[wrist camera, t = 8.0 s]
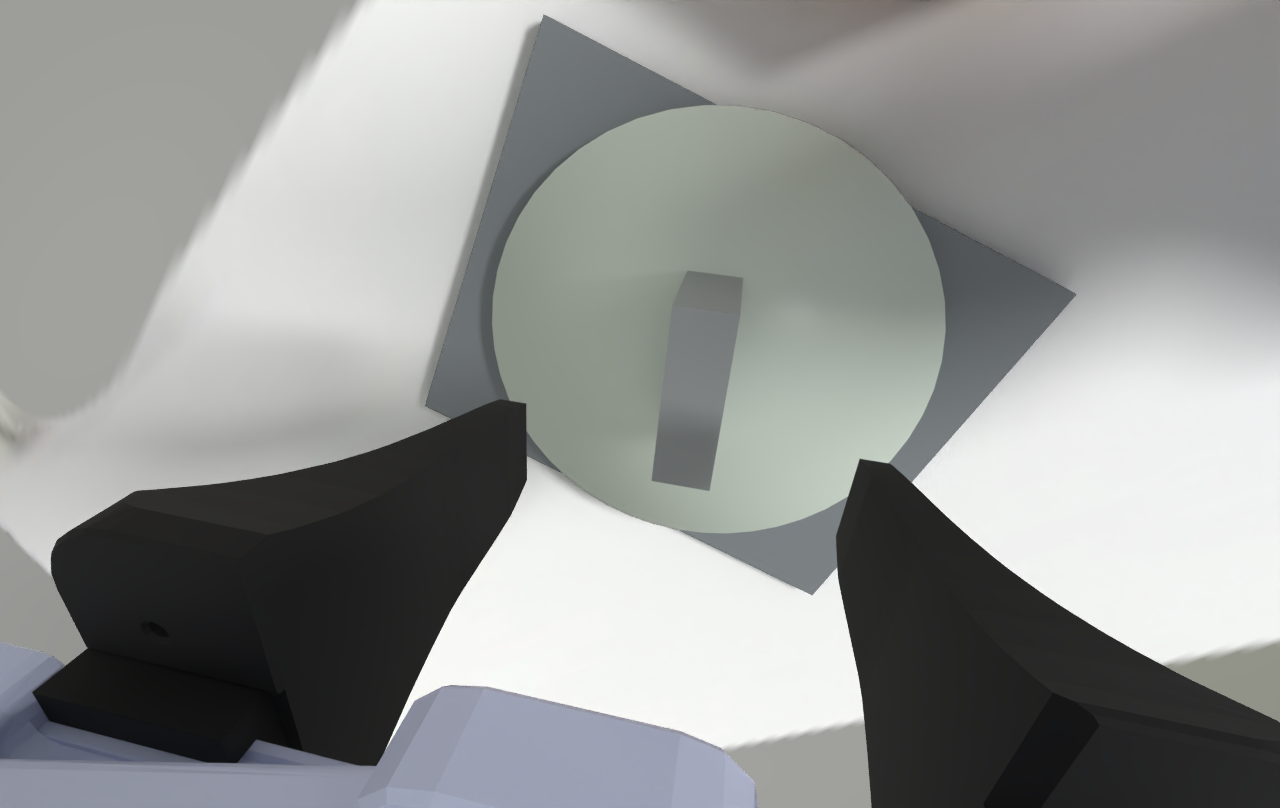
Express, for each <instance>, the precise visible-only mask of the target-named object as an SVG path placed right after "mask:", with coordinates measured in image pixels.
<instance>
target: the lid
mask: <svg viewBox="0 0 1280 808" xmlns="http://www.w3.org/2000/svg"><path fill="white" fill-rule="evenodd" d="M492 329H493V339H494V350H495V354H496V358H497V363H498V367H499V372H500V376H501V378H502V381H503V384H504V387H505V389H506V392H507V395H508V398H509V400H510V401H514V402H520V403H526V431H527V432H528V434H529V435H530V437H531V438H532V440H533V441H534V442H535V444H536V445H537V446H538V447H539V448H540V450H541V451H542V452H543V453H544V454H545V456H546V457H547V458H548V459H549V460H550V461H551V462H552V463H553V464H554V465H555V466H556V467H557V468H558V469H559V470H560V471H561V472H562V473H563V474H564V475H565V476H566V477H567V478H569V479H570V480H571V481H573V482H574V483H575V484H577V485H578V486H579V487H580V488H582V489H583V490H584V491H586V492H587V493H589V494H590V495H592V496H594V497H595V498H597V499H599V500H600V501H602V502H603V503H605V504H607V505H609V506H611V507H613V508H615V509H617V510H619V511H621V512H623V513H625V514H628V515H630V516H633V517H635V518H638V519H641V520H644V521H647V522H650V523H652V524H656V525H660V526H665V527H669V528H673V529H677V530H685V531H692V532H700V533H739V532H752V531H757V530H763V529H768V528H773V527H778V526H781V525H785V524H788V523H791V522H795V521H798V520H801V519H804V518H806V517H809V516H811V515H813V514H816V513H818V512H820V511H823V510H825V509H827V508H829V507H830V506H832V505H834V504H836V503H837V502H839V501H841V500H843V499H844V498H846V497H848V495H849V492H850V489H851V485H852V482H853V479H854V476H855V472H856V469H857V466H858V463H859V459H865V460H871V461H877V462H883V463H889V462H890V461H891V460H892V458H893V457H894V456H895V455H896V454H897V452H898V451H899V450H900V449H901V447H902V446H903V445H904V444H905V442H906V441H907V440H908V438H909V437H910V435H911V434H912V432H913V430H914V429H915V427H916V425H917V424H918V422H919V421H920V419H921V417H922V416H923V413H924V411H925V409H926V407H927V404H928V402H929V400H930V397H931V395H932V393H933V391H934V388H935V384H936V381H937V377H938V373H939V370H940V366H941V363H942V357H943V349H944V341H945V333H946V324H945V298H944V293H943V287H942V282H941V276H940V271H939V267H938V264H937V261H936V259H935V256H934V253H933V250H932V247H931V244H930V241H929V239H928V237H927V235H926V233H925V231H924V229H923V227H922V225H921V224H920V222H919V220H918V218H917V216H916V214H915V212H914V210H913V209H912V208H911V206H910V205H909V204H908V202H907V201H906V200H905V198H904V197H903V196H902V194H901V193H900V192H899V190H898V189H897V188H896V186H895V185H894V184H893V183H892V182H891V181H890V180H889V179H888V178H887V177H886V176H885V175H884V174H883V173H882V172H881V171H880V170H879V169H878V168H877V167H876V166H875V165H874V164H873V163H872V162H871V161H870V160H869V159H868V158H866V157H865V156H863V155H862V154H861V153H859V152H858V151H856V150H855V149H854V148H852V147H851V146H849V145H848V144H847V143H845V142H844V141H842V140H841V139H839V138H837V137H835V136H833V135H831V134H829V133H828V132H826V131H824V130H822V129H820V128H818V127H816V126H814V125H812V124H810V123H807V122H804V121H801V120H798V119H795V118H792V117H789V116H786V115H783V114H780V113H777V112H773V111H767V110H761V109H755V108H750V107H744V106H724V105H701V106H693V107H685V108H677V109H670V110H666V111H662V112H659V113H655V114H651V115H648V116H644V117H641V118H637V119H635V120H633V121H630V122H628V123H626V124H623V125H621V126H619V127H617V128H614V129H612V130H610V131H607V132H606V133H604V134H602V135H601V136H599V137H598V138H596V139H594V140H593V141H591V142H590V143H588V144H586V145H585V146H583V147H582V148H580V149H579V150H577V151H576V152H575V153H574V154H573V155H571V156H570V157H569V158H568V159H567V160H566V161H564V162H563V163H562V164H561V165H560V166H558V167H557V168H556V169H555V170H554V171H553V172H552V173H551V175H550V176H549V177H548V178H547V179H546V180H545V181H544V182H543V184H542V185H541V186H540V187H539V188H538V189H537V190H536V191H535V193H534V194H533V196H532V197H531V199H530V200H529V202H528V203H527V205H526V206H525V208H524V209H523V211H522V212H521V214H520V215H519V217H518V219H517V221H516V223H515V225H514V227H513V229H512V231H511V234H510V236H509V238H508V240H507V242H506V245H505V248H504V251H503V254H502V257H501V260H500V264H499V267H498V270H497V276H496V282H495V288H494V293H493V309H492Z"/></svg>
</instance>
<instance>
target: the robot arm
mask: <svg viewBox="0 0 1280 808" xmlns="http://www.w3.org/2000/svg"><path fill="white" fill-rule="evenodd" d="M526 481H527V434H526V403H520V402H514V401H508V400H502V399H499V400H496V401H493V402H490V403H488V404H485V405H483V406H481V407H478V408H476V409H474V410H471V411H469V412H467V413H465V414H462V415H460V416H458V417H456V418H453V419H451V420H449V421H447V422H444V423H442V424H440V425H438V426H435V427H433V428H431V429H428V430H426V431H423V432H421V433H418V434H416V435H413V436H411V437H408V438H406V439H403V440H400V441H398V442H395V443H393V444H390V445H388V446H385V447H382V448H379V449H376V450H373V451H370V452H367V453H364V454H360V455H357V456H353V457H350V458H347V459H343V460H340V461H336V462H332V463H328V464H324V465H319V466H315V467H310V468H306V469H302V470H297V471H293V472H288V473H284V474H278V475H273V476H267V477H261V478H255V479H249V480H242V481H235V482H228V483H220V484H212V485H202V486H191V487H179V488H168V489H157V490H142V491H135V492H133V493H131V494H130V495H128V496H126V497H125V498H123V499H122V500H120V501H118V502H117V503H115V504H113V505H112V506H110V507H108V508H107V509H105V510H103V511H102V512H100V513H98V514H97V515H95V516H94V517H92V518H90V519H89V520H87V521H85V522H84V523H82V524H80V525H79V526H77V527H75V528H74V529H72V530H70V531H69V532H67V533H66V534H64V535H63V536H62V537H60V538H59V539H58V540H57V541H56V544H55V546H54V548H53V550H52V553H51V573H52V576H53V579H54V581H55V584H56V587H57V589H58V592H59V594H60V595H61V597H62V599H63V601H64V603H65V605H66V607H67V609H68V611H69V613H70V615H71V617H72V619H73V621H74V623H75V625H76V627H77V629H78V631H79V632H80V635H81V637H82V639H83V641H84V642H85V644H86V646H87V647H88V649H86V650H85V651H84V652H83V653H81V654H80V655H79V656H77V657H76V658H75V659H74V660H72V661H71V662H70V663H69V664H68V665H66V666H65V665H64V664H63V663H62V662H61V661H59V660H58V659H56V658H55V657H54V656H52V655H49V654H47V653H44V652H42V651H37V650H34V649H30V648H26V647H22V646H18V645H13V644H9V643H5V642H1V641H0V808H758V803H757V796H756V789H755V782H754V781H753V780H752V779H751V778H750V777H749V776H748V775H747V774H746V773H745V772H744V771H743V770H742V769H741V768H740V767H739V766H738V765H737V764H736V763H735V762H734V761H733V760H732V759H731V758H730V757H729V756H728V755H727V754H726V753H725V752H724V751H723V750H722V749H721V748H720V747H717V746H715V745H713V744H710V743H708V742H705V741H703V740H700V739H698V738H696V737H693V736H691V735H688V734H686V733H683V732H681V731H677V730H673V729H669V728H664V727H660V726H656V725H651V724H647V723H643V722H638V721H634V720H630V719H625V718H621V717H617V716H612V715H608V714H604V713H599V712H595V711H591V710H586V709H582V708H578V707H573V706H569V705H565V704H560V703H556V702H552V701H547V700H543V699H538V698H534V697H530V696H525V695H521V694H517V693H512V692H508V691H504V690H499V689H495V688H491V687H480V686H457V685H450V686H444V687H441V688H439V689H437V690H435V691H433V692H431V693H429V694H427V695H425V696H423V697H421V698H419V699H417V700H415V701H414V703H413V705H412V706H411V708H410V710H409V712H408V713H407V715H406V717H405V718H404V720H403V722H402V723H401V725H400V727H399V729H398V730H397V732H396V734H395V735H394V737H393V739H392V740H391V742H390V744H389V745H388V742H389V740H390V738H391V736H392V733H393V731H394V729H395V727H396V724H397V722H398V720H399V718H400V715H401V713H402V711H403V709H404V706H405V704H406V702H407V700H408V697H409V695H410V693H411V691H412V689H413V686H414V684H415V682H416V680H417V678H418V676H419V674H420V672H421V670H422V667H423V665H424V663H425V661H426V659H427V657H428V655H429V653H430V651H431V648H432V646H433V645H434V643H435V641H436V639H437V637H438V635H439V633H440V631H441V629H442V627H443V625H444V623H445V621H446V619H447V617H448V615H449V613H450V611H451V609H452V607H453V606H454V604H455V602H456V600H457V599H458V597H459V595H460V594H461V592H462V590H463V589H464V587H465V586H466V584H467V583H468V581H469V580H470V578H471V577H472V575H473V573H474V572H475V570H476V569H477V567H478V566H479V564H480V563H481V561H482V560H483V558H484V557H485V555H486V553H487V552H488V550H489V549H490V547H491V546H492V544H493V543H494V541H495V540H496V538H497V536H498V535H499V533H500V532H501V530H502V529H503V527H504V526H505V524H506V522H507V521H508V519H509V517H510V516H511V514H512V512H513V510H514V507H515V505H516V503H517V501H518V499H519V497H520V494H521V492H522V490H523V487H524V485H525V483H526ZM836 551H837V568H838V579H839V585H840V590H841V595H842V600H843V605H844V609H845V614H846V619H847V624H848V628H849V633H850V638H851V642H852V647H853V652H854V657H855V661H856V666H857V671H858V676H859V682H860V688H861V694H862V701H863V711H864V721H865V731H866V740H867V752H868V764H869V778H870V790H871V803H872V808H1280V723H1279V722H1278V721H1277V720H1274V719H1272V718H1270V717H1268V716H1266V715H1264V714H1262V713H1260V712H1258V711H1255V710H1253V709H1251V708H1249V707H1247V706H1245V705H1243V704H1241V703H1238V702H1236V701H1234V700H1232V699H1230V698H1228V697H1226V696H1224V695H1221V694H1219V693H1217V692H1215V691H1213V690H1211V689H1209V688H1207V687H1205V686H1202V685H1200V684H1198V683H1196V682H1194V681H1192V680H1190V679H1188V678H1186V677H1184V676H1182V675H1180V674H1178V673H1176V672H1174V671H1172V670H1170V669H1169V668H1167V667H1165V666H1163V665H1161V664H1159V663H1157V662H1155V661H1154V660H1152V659H1150V658H1148V657H1146V656H1144V655H1142V654H1141V653H1139V652H1137V651H1135V650H1133V649H1131V648H1130V647H1128V646H1126V645H1124V644H1123V643H1121V642H1119V641H1117V640H1116V639H1114V638H1112V637H1110V636H1109V635H1107V634H1105V633H1103V632H1102V631H1100V630H1098V629H1097V628H1095V627H1094V626H1092V625H1090V624H1089V623H1087V622H1086V621H1084V620H1082V619H1081V618H1079V617H1078V616H1076V615H1074V614H1073V613H1071V612H1069V611H1068V610H1066V609H1065V608H1063V607H1062V606H1060V605H1059V604H1057V603H1056V602H1054V601H1053V600H1051V599H1050V598H1048V597H1047V596H1045V595H1044V594H1042V593H1041V592H1039V591H1038V590H1037V589H1035V588H1034V587H1032V586H1031V585H1030V584H1028V583H1027V582H1026V581H1024V580H1023V579H1021V578H1020V577H1019V576H1017V575H1016V574H1014V573H1013V572H1012V571H1010V570H1009V569H1008V568H1006V567H1005V566H1004V565H1003V564H1001V563H1000V562H999V561H997V560H996V559H995V558H994V557H993V556H991V555H990V554H989V553H988V552H987V551H985V550H984V549H983V548H982V547H981V546H979V545H978V544H977V543H976V542H975V541H973V540H972V539H971V538H970V537H969V536H968V535H966V534H965V533H964V532H963V531H962V530H961V529H960V528H959V527H958V526H956V525H955V524H954V523H953V522H952V521H951V520H950V519H949V518H948V517H947V516H946V515H945V514H943V513H942V512H941V511H940V510H939V509H938V508H937V507H936V506H935V505H934V504H933V503H932V502H931V501H930V500H929V499H928V498H927V497H926V496H925V495H924V494H923V493H922V492H921V491H920V490H918V489H917V488H916V487H915V486H914V485H913V484H912V483H911V482H910V481H909V480H908V479H907V478H906V477H905V476H904V475H903V474H902V473H901V472H900V471H899V470H897V469H896V468H895V467H894V466H893V465H891V464H889V463H883V462H877V461H871V460H865V459H859V463H858V466H857V469H856V472H855V476H854V479H853V482H852V485H851V489H850V492H849V495H848V498H847V502H846V505H845V508H844V511H843V515H842V518H841V521H840V524H839V527H838V531H837V534H836ZM387 745H388V747H387ZM386 747H387V749H386ZM385 749H386V751H385Z"/></svg>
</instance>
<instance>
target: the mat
mask: <svg viewBox="0 0 1280 808" xmlns="http://www.w3.org/2000/svg"><path fill="white" fill-rule="evenodd" d="M701 105H716V104H714V103H712V102H710V101H708V100H706V99H704V98H702V97H700V96H698V95H696V94H695V93H693V92H691V91H689V90H687V89H685V88H683V87H681V86H679V85H677V84H676V83H674V82H672V81H670V80H668V79H666V78H664V77H662V76H660V75H658V74H656V73H655V72H653V71H651V70H649V69H647V68H645V67H643V66H641V65H639V64H637V63H636V62H634V61H632V60H630V59H628V58H626V57H624V56H622V55H620V54H618V53H616V52H615V51H613V50H611V49H609V48H607V47H605V46H603V45H601V44H599V43H597V42H596V41H594V40H592V39H590V38H588V37H586V36H584V35H582V34H580V33H578V32H576V31H575V30H573V29H571V28H569V27H567V26H565V25H563V24H561V23H559V22H557V21H556V20H554V19H552V18H550V17H548V16H546V15H543V19H542V22H541V25H540V29H539V32H538V35H537V39H536V42H535V45H534V48H533V52H532V55H531V58H530V62H529V65H528V68H527V72H526V75H525V78H524V81H523V85H522V88H521V91H520V95H519V98H518V101H517V104H516V108H515V111H514V114H513V118H512V121H511V124H510V128H509V131H508V134H507V137H506V141H505V144H504V147H503V151H502V154H501V157H500V161H499V164H498V167H497V170H496V174H495V177H494V180H493V184H492V187H491V190H490V193H489V197H488V200H487V203H486V207H485V210H484V213H483V217H482V220H481V223H480V226H479V230H478V233H477V236H476V240H475V243H474V246H473V250H472V253H471V256H470V259H469V263H468V266H467V269H466V273H465V276H464V279H463V282H462V286H461V289H460V292H459V296H458V299H457V302H456V306H455V309H454V312H453V315H452V319H451V322H450V325H449V329H448V332H447V335H446V339H445V342H444V345H443V348H442V352H441V355H440V358H439V362H438V365H437V368H436V371H435V375H434V378H433V381H432V385H431V388H430V391H429V395H428V398H427V401H426V404H425V406H426V407H428V408H430V409H432V410H434V411H436V412H438V413H441V414H443V415H445V416H447V417H449V418H451V419H453V418H456V417H458V416H460V415H462V414H465V413H467V412H469V411H471V410H474V409H476V408H478V407H481V406H483V405H485V404H488V403H490V402H493V401H496V400H499V399H502V400H508V401H510V400H509V398H508V395H507V392H506V389H505V387H504V384H503V381H502V378H501V376H500V372H499V367H498V363H497V358H496V354H495V350H494V339H493V329H492V309H493V293H494V288H495V282H496V276H497V270H498V267H499V264H500V260H501V257H502V254H503V251H504V248H505V245H506V242H507V240H508V238H509V236H510V234H511V231H512V229H513V227H514V225H515V223H516V221H517V219H518V217H519V215H520V214H521V212H522V211H523V209H524V208H525V206H526V205H527V203H528V202H529V200H530V199H531V197H532V196H533V194H534V193H535V191H536V190H537V189H538V188H539V187H540V186H541V185H542V184H543V182H544V181H545V180H546V179H547V178H548V177H549V176H550V175H551V173H552V172H553V171H554V170H555V169H556V168H557V167H558V166H560V165H561V164H562V163H563V162H564V161H566V160H567V159H568V158H569V157H570V156H571V155H573V154H574V153H575V152H576V151H577V150H579V149H580V148H582V147H583V146H585V145H586V144H588V143H590V142H591V141H593V140H594V139H596V138H598V137H599V136H601V135H602V134H604V133H606V132H607V131H610V130H612V129H614V128H617V127H619V126H621V125H623V124H626V123H628V122H630V121H633V120H635V119H637V118H641V117H644V116H648V115H651V114H655V113H659V112H662V111H666V110H670V109H677V108H685V107H693V106H701ZM911 208H912V207H911ZM912 209H913V210H914V212H915V214H916V216H917V218H918V220H919V222H920V224H921V225H922V227H923V229H924V231H925V233H926V235H927V237H928V239H929V241H930V244H931V247H932V250H933V253H934V256H935V259H936V261H937V264H938V267H939V271H940V276H941V282H942V287H943V293H944V298H945V324H946V333H945V341H944V349H943V357H942V363H941V366H940V370H939V373H938V377H937V381H936V384H935V388H934V391H933V393H932V395H931V397H930V400H929V402H928V404H927V407H926V409H925V411H924V413H923V416H922V417H921V419H920V421H919V422H918V424H917V425H916V427H915V429H914V430H913V432H912V434H911V435H910V437H909V438H908V440H907V441H906V442H905V444H904V445H903V446H902V447H901V449H900V450H899V451H898V452H897V454H896V455H895V456H894V457H893V458H892V460H891V461H890V462H889V464H891V465H893V466H894V467H895V468H896V469H897V470H899V471H900V472H901V473H902V474H903V475H904V476H905V477H906V478H907V479H908V480H909V481H910V482H912V481H913V480H914V479H915V478H916V477H917V475H918V474H919V473H920V472H921V471H922V470H923V469H924V467H925V466H926V465H927V464H928V463H929V462H930V461H931V460H932V458H933V457H934V456H935V455H936V454H937V453H938V452H939V450H940V449H941V448H942V447H943V446H944V445H945V444H946V442H947V441H948V440H949V439H950V438H951V437H952V436H953V434H954V433H955V432H956V431H957V430H958V429H959V428H960V427H961V425H962V424H963V423H964V422H965V421H966V420H967V419H968V417H969V416H970V415H971V414H972V413H973V412H974V411H975V409H976V408H977V407H978V406H979V405H980V404H981V403H982V401H983V400H984V399H985V398H986V397H987V396H988V395H989V393H990V392H991V391H992V390H993V389H994V388H995V387H996V386H997V384H998V383H999V382H1000V381H1001V380H1002V379H1003V378H1004V376H1005V375H1006V374H1007V373H1008V372H1009V371H1010V370H1011V368H1012V367H1013V366H1014V365H1015V364H1016V363H1017V362H1018V360H1019V359H1020V358H1021V357H1022V356H1023V355H1024V354H1025V353H1026V351H1027V350H1028V349H1029V348H1030V347H1031V346H1032V345H1033V343H1034V342H1035V341H1036V340H1037V339H1038V338H1039V337H1040V335H1041V334H1042V333H1043V332H1044V331H1045V330H1046V329H1047V327H1048V326H1049V325H1050V324H1051V323H1052V322H1053V321H1054V320H1055V318H1056V317H1057V316H1058V315H1059V314H1060V313H1061V312H1062V310H1063V309H1064V308H1065V307H1066V306H1067V305H1068V304H1069V302H1070V301H1071V300H1072V299H1073V298H1074V297H1075V296H1076V294H1075V293H1073V292H1072V291H1070V290H1068V289H1066V288H1064V287H1062V286H1060V285H1058V284H1056V283H1055V282H1053V281H1051V280H1049V279H1047V278H1045V277H1043V276H1041V275H1039V274H1037V273H1036V272H1034V271H1032V270H1030V269H1028V268H1026V267H1024V266H1022V265H1020V264H1018V263H1016V262H1015V261H1013V260H1011V259H1009V258H1007V257H1005V256H1003V255H1001V254H999V253H997V252H996V251H994V250H992V249H990V248H988V247H986V246H984V245H982V244H980V243H978V242H976V241H975V240H973V239H971V238H969V237H967V236H965V235H963V234H961V233H959V232H957V231H956V230H954V229H952V228H950V227H948V226H946V225H944V224H942V223H940V222H938V221H936V220H935V219H933V218H931V217H929V216H927V215H925V214H923V213H921V212H919V211H917V210H916V209H914V208H912ZM526 434H527V456H528V457H531V458H533V459H535V460H537V461H539V462H541V463H543V464H545V465H547V466H549V467H551V468H553V469H555V470H557V471H559V472H561V471H560V470H559V469H558V468H557V467H556V466H555V465H554V464H553V463H552V462H551V461H550V460H549V459H548V458H547V457H546V456H545V454H544V453H543V452H542V451H541V450H540V448H539V447H538V446H537V445H536V444H535V442H534V441H533V440H532V438H531V437H530V435H529V434H528V432H527V431H526ZM561 473H562V472H561ZM847 498H848V497H846V498H844V499H843V500H841V501H839V502H837V503H836V504H834V505H832V506H830V507H829V508H827V509H825V510H823V511H820V512H818V513H816V514H813V515H811V516H809V517H806V518H804V519H801V520H798V521H795V522H791V523H788V524H785V525H781V526H778V527H773V528H768V529H763V530H757V531H752V532H739V533H700V532H692V531H685V530H680V531H682V532H684V533H686V534H688V535H690V536H692V537H694V538H696V539H698V540H700V541H702V542H704V543H706V544H708V545H710V546H713V547H715V548H717V549H719V550H721V551H723V552H725V553H727V554H729V555H731V556H733V557H735V558H737V559H739V560H741V561H743V562H745V563H747V564H749V565H751V566H753V567H755V568H758V569H760V570H762V571H764V572H766V573H768V574H770V575H772V576H774V577H776V578H778V579H780V580H782V581H784V582H786V583H788V584H790V585H792V586H794V587H796V588H798V589H800V590H803V591H805V592H807V593H809V594H811V595H813V594H814V593H815V592H816V590H817V589H818V588H819V587H820V586H821V585H822V584H823V582H824V581H825V580H826V579H827V578H828V577H829V576H830V574H831V573H832V572H833V571H834V570H835V569H836V568H837V551H836V534H837V531H838V527H839V524H840V521H841V518H842V515H843V511H844V508H845V505H846V502H847Z"/></svg>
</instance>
